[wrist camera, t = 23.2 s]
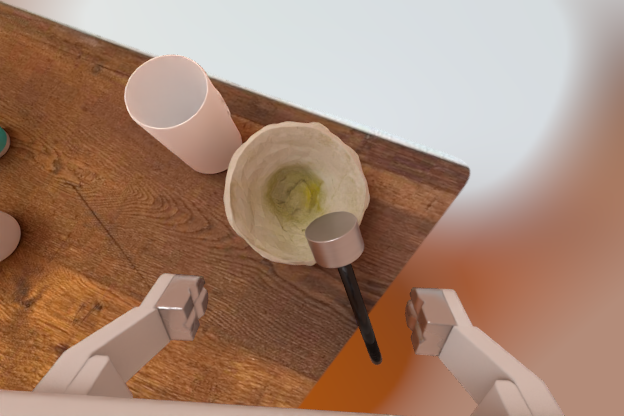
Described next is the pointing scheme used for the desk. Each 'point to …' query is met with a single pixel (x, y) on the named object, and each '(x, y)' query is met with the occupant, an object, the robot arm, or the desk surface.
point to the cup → (8, 235)
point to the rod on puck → (343, 264)
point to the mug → (183, 112)
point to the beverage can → (4, 142)
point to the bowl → (291, 187)
